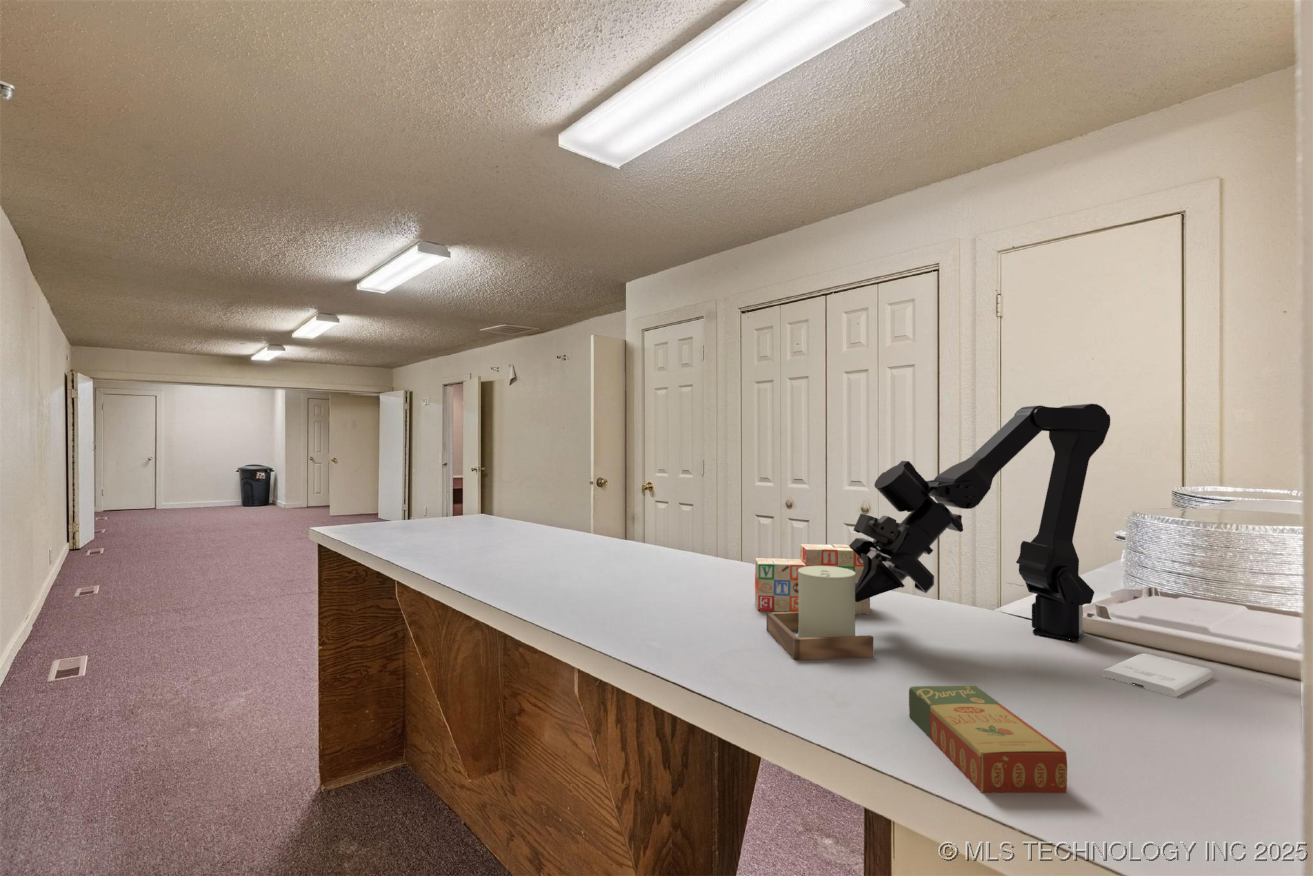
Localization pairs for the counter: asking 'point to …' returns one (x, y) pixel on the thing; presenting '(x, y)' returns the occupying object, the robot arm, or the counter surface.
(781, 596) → the stack of blocks
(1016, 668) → the counter surface
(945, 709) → the carton
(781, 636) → the walnut bay
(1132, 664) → the external hard drive
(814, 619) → the can
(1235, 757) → the counter surface
